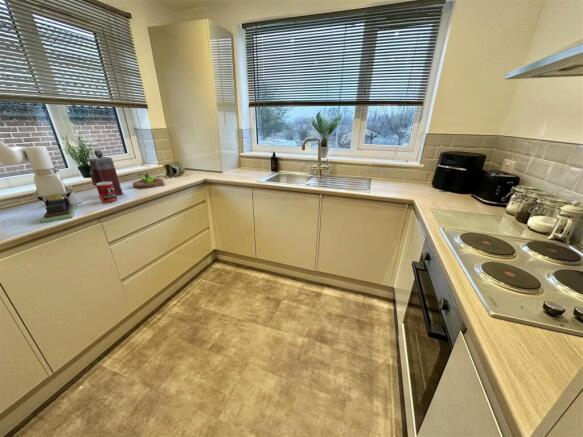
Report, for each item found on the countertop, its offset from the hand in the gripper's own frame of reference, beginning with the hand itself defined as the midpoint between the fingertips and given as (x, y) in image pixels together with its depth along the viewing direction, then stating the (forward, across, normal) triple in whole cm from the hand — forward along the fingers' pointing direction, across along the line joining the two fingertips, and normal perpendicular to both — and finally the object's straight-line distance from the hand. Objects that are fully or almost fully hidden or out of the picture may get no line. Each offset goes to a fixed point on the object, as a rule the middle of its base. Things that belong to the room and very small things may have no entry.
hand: (59, 206), depth 123 cm
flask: (+3, -4, -16) cm, 17 cm away
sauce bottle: (+3, +5, -27) cm, 28 cm away
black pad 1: (+1, 0, 0) cm, 1 cm away
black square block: (+2, 0, +6) cm, 7 cm away
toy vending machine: (+3, -21, -22) cm, 31 cm away
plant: (+3, -45, -37) cm, 58 cm away
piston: (+3, -67, -58) cm, 89 cm away
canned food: (+3, -21, -7) cm, 22 cm away
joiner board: (+3, 0, +3) cm, 4 cm away
